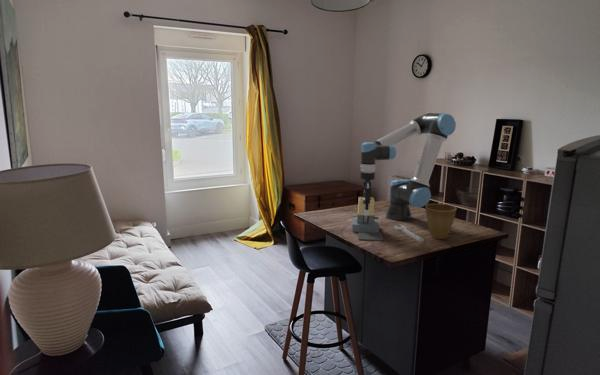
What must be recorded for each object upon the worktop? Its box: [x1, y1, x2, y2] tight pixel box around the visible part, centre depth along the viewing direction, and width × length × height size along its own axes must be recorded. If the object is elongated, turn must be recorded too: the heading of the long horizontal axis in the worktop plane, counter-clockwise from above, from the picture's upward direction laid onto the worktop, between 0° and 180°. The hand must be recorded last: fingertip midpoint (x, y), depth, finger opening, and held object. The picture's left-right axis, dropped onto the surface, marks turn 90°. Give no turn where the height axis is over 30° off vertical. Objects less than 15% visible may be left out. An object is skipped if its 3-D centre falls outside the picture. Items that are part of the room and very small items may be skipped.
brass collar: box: [357, 196, 376, 216], centre depth 208 cm, size 8×8×8 cm
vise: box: [351, 198, 380, 233], centre depth 209 cm, size 14×11×17 cm
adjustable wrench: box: [394, 224, 425, 243], centre depth 203 cm, size 25×6×2 cm, turn 11°
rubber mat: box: [357, 232, 385, 242], centre depth 198 cm, size 12×11×1 cm
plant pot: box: [424, 203, 458, 240], centre depth 198 cm, size 15×15×16 cm
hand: (365, 213), depth 209 cm, fingers closed on brass collar, 8 cm apart
